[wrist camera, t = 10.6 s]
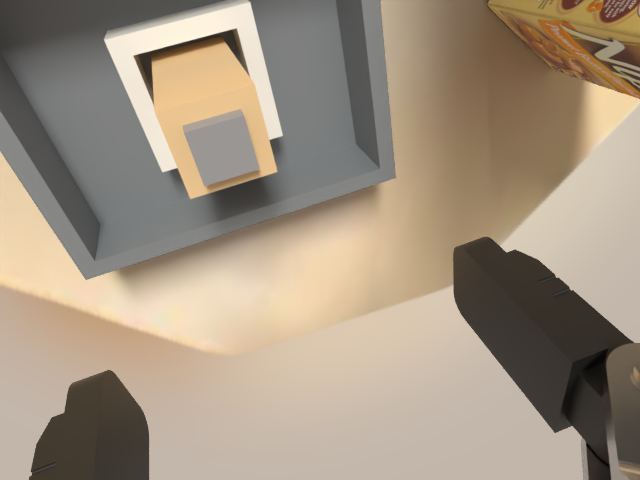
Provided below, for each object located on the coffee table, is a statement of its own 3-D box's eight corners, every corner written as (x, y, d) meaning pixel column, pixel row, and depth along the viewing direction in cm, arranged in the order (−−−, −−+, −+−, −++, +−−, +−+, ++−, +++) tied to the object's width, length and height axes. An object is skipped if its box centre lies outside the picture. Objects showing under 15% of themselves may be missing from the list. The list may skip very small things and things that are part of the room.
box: (331, -125, 24) (368, -135, 20) (366, 148, 34) (395, 177, 30) (-70, -36, 21) (-118, -27, 17) (93, 234, 31) (85, 279, 27)
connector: (220, 36, 26) (258, 89, 18) (240, 103, 28) (281, 179, 20) (151, 54, 25) (154, 119, 17) (177, 121, 28) (192, 208, 19)
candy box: (482, 5, 31) (702, 57, 19) (525, -59, 29) (793, -47, 17) (552, 72, 35) (766, 148, 23) (593, 19, 34) (842, 72, 22)
